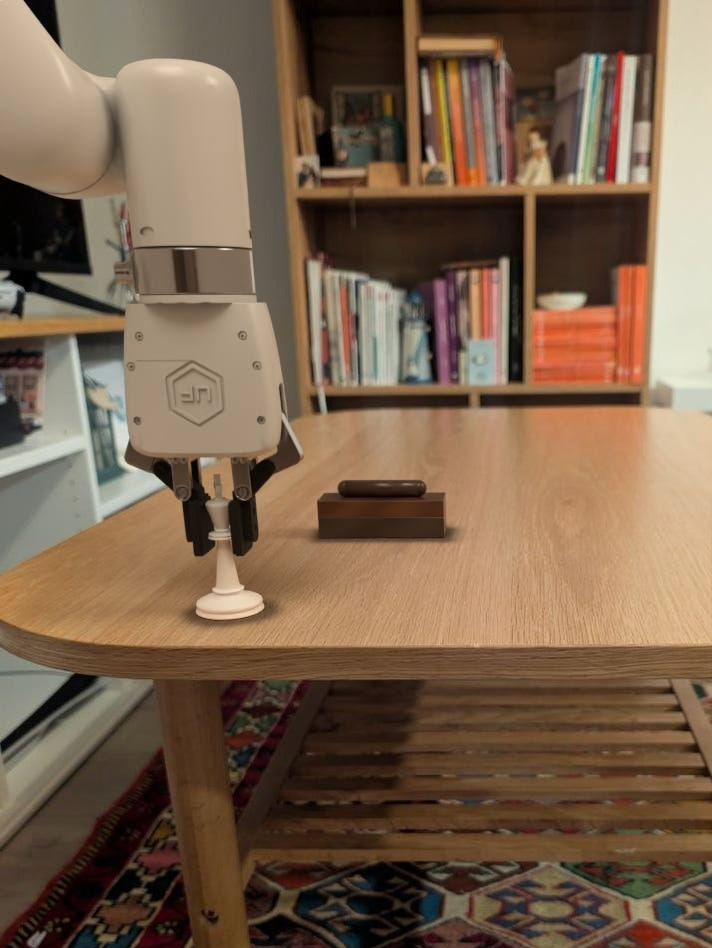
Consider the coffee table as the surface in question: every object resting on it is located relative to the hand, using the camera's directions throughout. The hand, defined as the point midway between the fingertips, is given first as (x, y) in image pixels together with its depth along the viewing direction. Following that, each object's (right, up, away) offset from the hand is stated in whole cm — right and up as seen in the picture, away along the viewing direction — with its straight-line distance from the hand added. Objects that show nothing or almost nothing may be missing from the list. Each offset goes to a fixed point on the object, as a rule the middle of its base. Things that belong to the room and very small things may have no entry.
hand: (224, 549), depth 68 cm
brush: (+9, +4, +24) cm, 26 cm away
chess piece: (0, -4, +2) cm, 5 cm away
